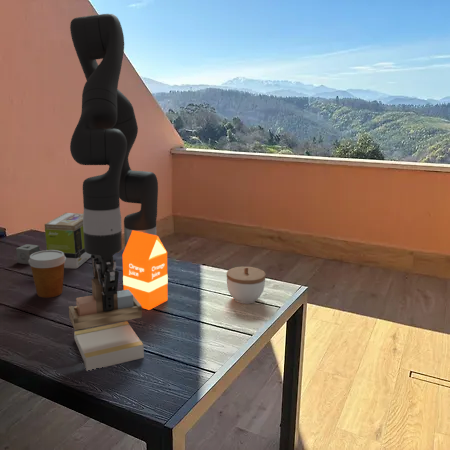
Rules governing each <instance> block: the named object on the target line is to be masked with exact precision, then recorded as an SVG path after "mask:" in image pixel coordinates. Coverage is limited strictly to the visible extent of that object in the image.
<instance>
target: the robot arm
mask: <svg viewBox="0 0 450 450" xmlns="http://www.w3.org/2000/svg"><path fill="white" fill-rule="evenodd" d="M69 26H70V27H69V29H70V37H71V40H72V44H73V47H74V51H75V52H76V56H77V58H78V61H79V64H80V66H81V69H82V72H83V74H84V77H85V79H86V81H85V83H84V86H83V89H82V94H81V112H80V117H79V120H78V123H77V124H76V126H75V129H74V131H73V133H72V136H71V138H70V144H69V145H70V146H69V149H70V155H71V158H73V160H74V161H75V162H76V163H77V164H79V165H82V166H109V167H108V169H107V171H106V172H105V173H103V174H100V175H96V176H91V177H88V178H85V179H84V180H83V182H82V198H83V199H82V201H83V212H82V214H83V230H84V249H85V252H86V253H88V254H90V255H91V257H90V259H91V266H92V273H93V279H98V283H99V284H101V289H102V292H101V293H102V302H103V310H104V311H105V312H107V311H112V310H114V294H117V291H118V286H119V277H120V276H119V274H120V272H119V270H118V269H117V270H116V268H117V261H116V260H115V259H114V255H115V254H118V253H120V252H121V251H122V250H123V235H124V249H125V248H126V245H127V243H128V240H129V238H130V235H131V233H132V230H133V231H138V232H142V233H147V234H151V235H156V236H157V217H158V200H159V198H158V197H159V181H158V178H157V175H156V174H155V173H154V172H152V171H143V170H132V168H131V167H130V162H129V156H130V153H131V150H132V148H133V146H134V144H135V142H136V139H137V136H138V132H139V127H138V122H137V119H136V114H135V111H134V107H133V104H132V103H131V101H130V100H129V99H128V98H127V96H126V95H124V93H123V92H122V91H121V90H120V89H119V88H118V86H119V82H120V81H119V80H120V77H121V76H120V75H121V71H122V70H121V69H122V65H123V59H124V54H125V37H124V32H123V31H124V30H123V27H122V25H121V21H120V20H119V18H118V16H117V15H116V14H114V13H102V14H92V15H86V16H85V15H84V16H80V17H79V16H78V17H74V18H73V19H72V20H71V21H70V24H69ZM97 60H101V61H100V63H98V62H97ZM120 200H121V201H122V202H124V203H130V204H139V205H140V210H139V211H137V212H133V213H132V212H131V213H129V214H127V215H126V216H125V217H124V219H123V229H122V213H121V208H120V203H121V201H120ZM122 230H123V232H124V233H123V232H122ZM122 234H123V235H122ZM102 278H105V280H102ZM109 287H111V288H110V289H108V288H109Z"/></svg>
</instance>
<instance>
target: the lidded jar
mask: <svg viewBox="0 0 450 450" xmlns="http://www.w3.org/2000/svg"><path fill="white" fill-rule="evenodd" d="M266 277H267V274H266V272H265V271H264V270H263V269H260V268H258V267H254V266H236V267H232V268H230V269H228V270H227V272H226V287H227V289H228V290H227V291H228V293H229V294H230V296H231V297H232V299H233V300H234V301H235V302H237V303H239V304H243V305H244V304H245V305H246V304H254V303H255V302H256V301H257V300H258V299H259V298H260V297H261V296H262V294H263V292H264V289H265V285H266V284H265V283H266Z"/></svg>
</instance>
